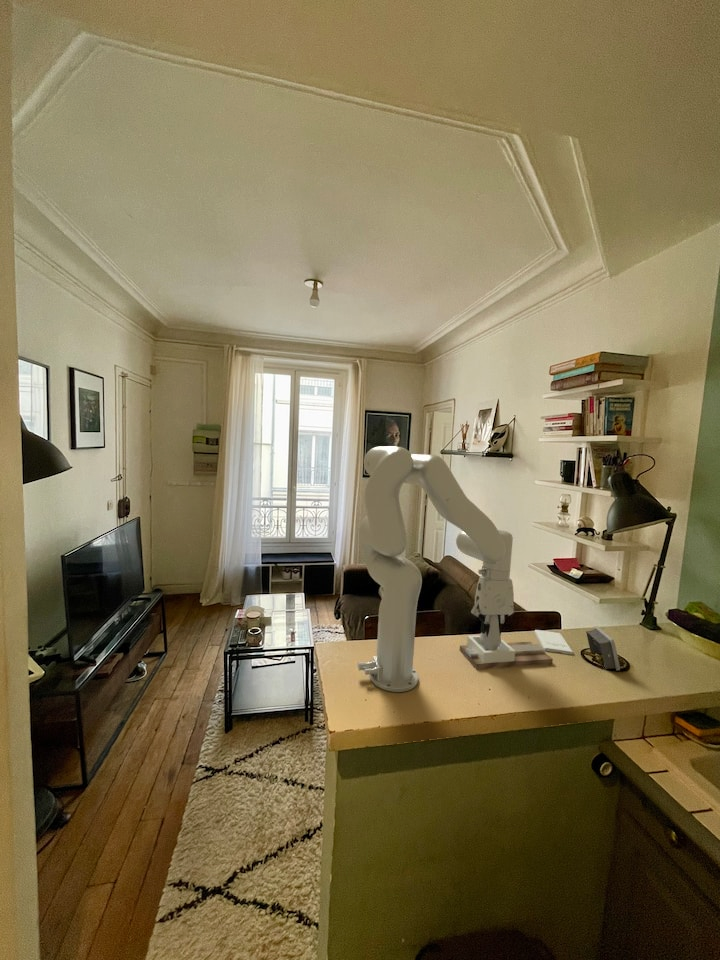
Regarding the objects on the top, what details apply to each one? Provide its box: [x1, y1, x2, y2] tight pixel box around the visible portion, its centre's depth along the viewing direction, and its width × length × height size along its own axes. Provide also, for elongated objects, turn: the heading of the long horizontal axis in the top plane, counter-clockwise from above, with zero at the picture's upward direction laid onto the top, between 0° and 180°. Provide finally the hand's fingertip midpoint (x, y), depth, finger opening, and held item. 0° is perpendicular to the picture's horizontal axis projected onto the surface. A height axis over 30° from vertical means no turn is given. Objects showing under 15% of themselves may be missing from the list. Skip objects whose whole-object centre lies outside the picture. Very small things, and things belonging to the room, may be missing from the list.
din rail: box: [465, 643, 546, 658], centre depth 110 cm, size 24×4×1 cm, turn 101°
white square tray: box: [466, 634, 515, 663], centre depth 109 cm, size 10×10×3 cm
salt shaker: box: [479, 615, 502, 650], centre depth 108 cm, size 6×6×13 cm
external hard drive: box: [534, 629, 574, 656], centre depth 120 cm, size 2×8×12 cm
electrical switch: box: [585, 625, 621, 672], centre depth 109 cm, size 9×5×9 cm, turn 174°
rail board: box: [459, 641, 553, 670], centre depth 110 cm, size 24×10×2 cm, turn 101°
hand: (490, 634), depth 108 cm, fingers closed on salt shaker, 3 cm apart
